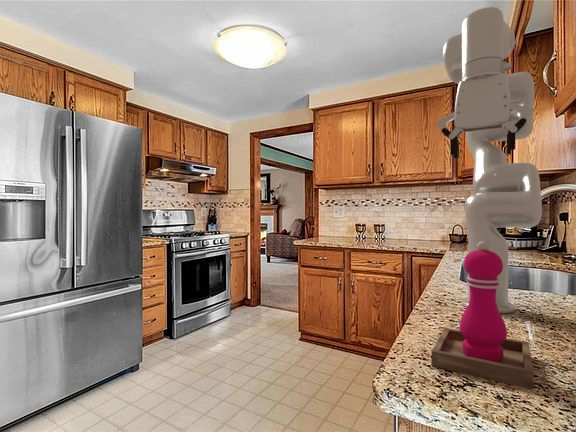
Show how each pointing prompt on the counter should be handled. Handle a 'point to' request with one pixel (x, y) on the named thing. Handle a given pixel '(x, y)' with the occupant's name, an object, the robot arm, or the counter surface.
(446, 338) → the tray
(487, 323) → the pepper mill
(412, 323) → the counter surface
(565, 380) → the counter surface
